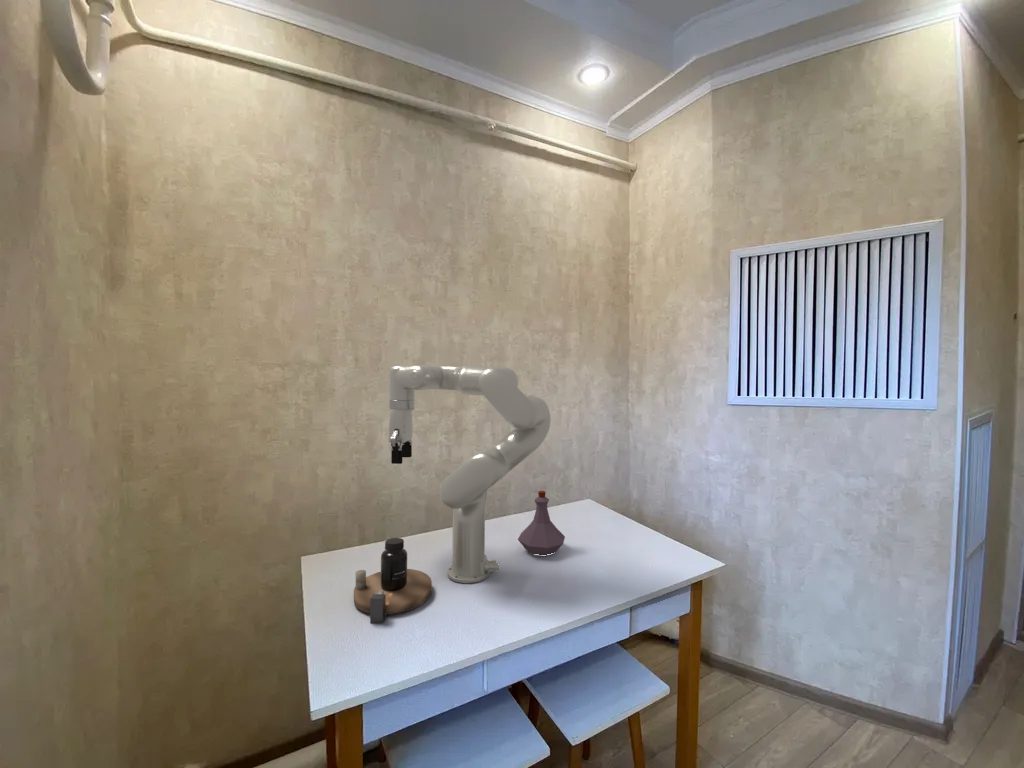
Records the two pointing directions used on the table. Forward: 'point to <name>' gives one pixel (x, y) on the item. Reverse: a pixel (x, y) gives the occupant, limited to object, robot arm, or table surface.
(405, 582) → the supplement bottle
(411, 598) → the disc
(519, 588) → the table surface
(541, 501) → the flask
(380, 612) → the index pointer
